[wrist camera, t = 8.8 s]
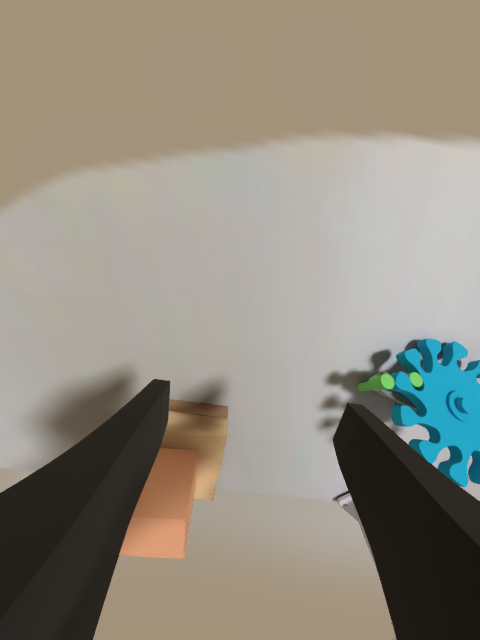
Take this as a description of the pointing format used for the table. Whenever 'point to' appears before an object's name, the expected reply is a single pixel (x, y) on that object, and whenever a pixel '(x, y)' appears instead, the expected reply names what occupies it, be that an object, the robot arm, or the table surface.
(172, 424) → the tower top
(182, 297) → the table surface
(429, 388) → the gear
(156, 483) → the block
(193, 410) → the tower base
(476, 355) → the table surface
